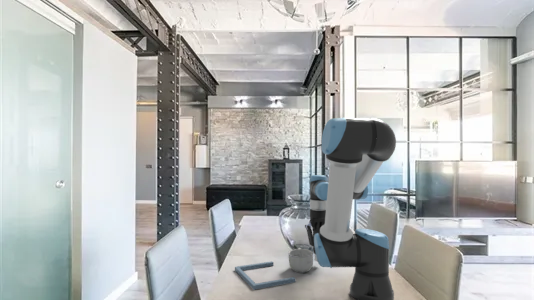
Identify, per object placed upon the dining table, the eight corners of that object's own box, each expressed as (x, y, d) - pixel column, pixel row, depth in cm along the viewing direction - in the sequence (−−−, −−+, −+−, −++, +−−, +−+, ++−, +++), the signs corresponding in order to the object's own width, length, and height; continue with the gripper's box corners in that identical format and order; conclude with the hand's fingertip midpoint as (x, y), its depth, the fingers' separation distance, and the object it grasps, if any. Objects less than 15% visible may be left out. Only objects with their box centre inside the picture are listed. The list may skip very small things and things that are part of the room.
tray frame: (295, 282, 126) (295, 278, 126) (253, 289, 119) (253, 285, 119) (272, 264, 146) (272, 261, 146) (234, 270, 138) (234, 266, 138)
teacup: (312, 275, 133) (312, 256, 133) (286, 273, 135) (286, 254, 135) (314, 264, 147) (314, 247, 147) (290, 262, 149) (290, 245, 149)
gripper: (325, 206, 151) (324, 256, 151) (301, 208, 146) (301, 260, 146) (334, 209, 144) (334, 261, 144) (310, 211, 139) (309, 265, 139)
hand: (317, 260), depth 145 cm, fingers closed
